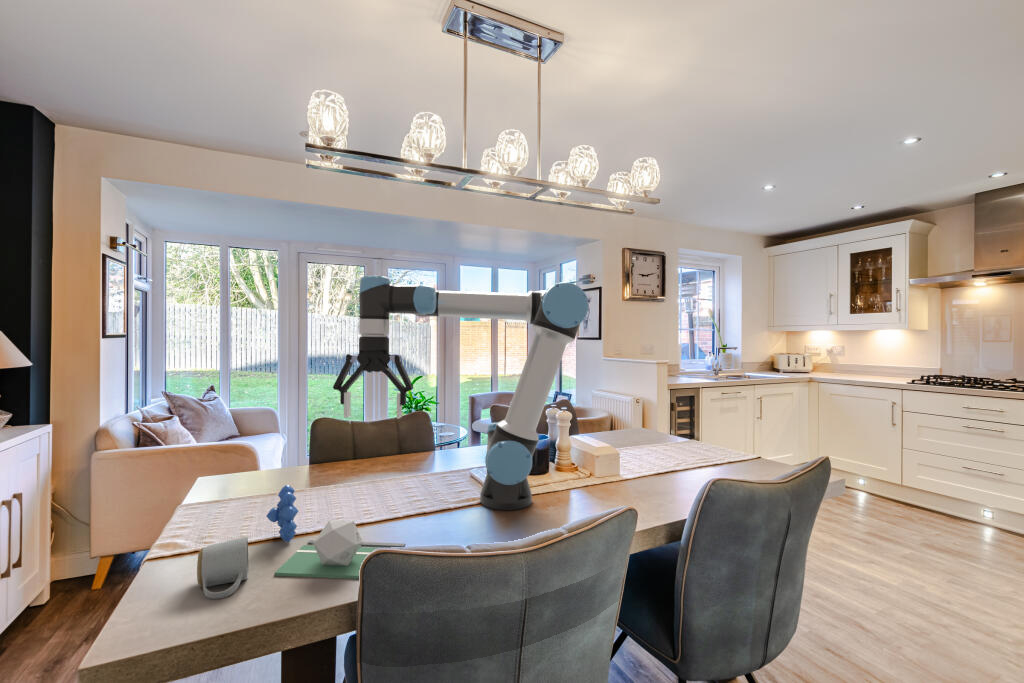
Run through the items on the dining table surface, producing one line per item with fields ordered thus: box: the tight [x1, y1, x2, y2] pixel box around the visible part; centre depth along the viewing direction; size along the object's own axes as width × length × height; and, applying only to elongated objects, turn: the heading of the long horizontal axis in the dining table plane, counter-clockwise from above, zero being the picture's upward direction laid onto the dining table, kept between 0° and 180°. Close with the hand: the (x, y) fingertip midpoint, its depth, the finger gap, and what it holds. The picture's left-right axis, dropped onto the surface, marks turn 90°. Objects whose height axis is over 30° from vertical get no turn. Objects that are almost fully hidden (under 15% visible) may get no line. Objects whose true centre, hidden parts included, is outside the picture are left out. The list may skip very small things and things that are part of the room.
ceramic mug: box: [196, 536, 249, 600], centre depth 87 cm, size 11×8×8 cm
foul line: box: [307, 539, 406, 548], centre depth 105 cm, size 22×1×1 cm, turn 89°
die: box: [312, 520, 364, 566], centre depth 95 cm, size 8×9×10 cm
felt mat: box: [274, 544, 379, 580], centre depth 96 cm, size 22×12×1 cm, turn 89°
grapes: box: [266, 484, 299, 543], centre depth 107 cm, size 12×7×12 cm, turn 31°
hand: (373, 417), depth 120 cm, fingers open, 13 cm apart
